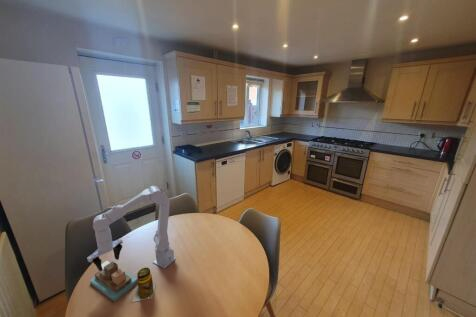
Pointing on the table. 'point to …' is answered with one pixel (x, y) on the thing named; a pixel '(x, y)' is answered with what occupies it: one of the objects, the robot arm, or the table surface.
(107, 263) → the block
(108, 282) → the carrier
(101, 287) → the dock
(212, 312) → the table surface
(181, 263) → the table surface
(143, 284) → the condiment
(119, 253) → the robot arm
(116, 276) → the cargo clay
